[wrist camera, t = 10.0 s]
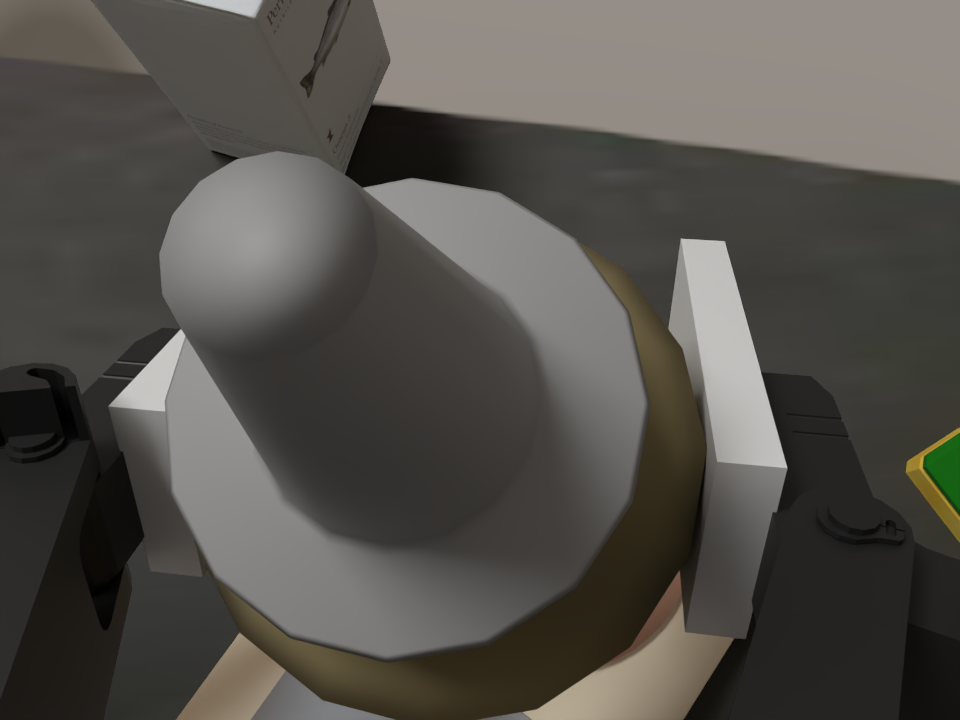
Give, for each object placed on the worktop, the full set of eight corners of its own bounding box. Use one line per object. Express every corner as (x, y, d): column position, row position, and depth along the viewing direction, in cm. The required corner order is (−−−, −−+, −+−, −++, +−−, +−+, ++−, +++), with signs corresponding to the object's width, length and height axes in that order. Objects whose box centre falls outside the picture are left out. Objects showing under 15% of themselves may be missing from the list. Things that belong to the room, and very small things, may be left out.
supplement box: (343, 191, 40) (253, 25, 28) (205, 151, 41) (60, -26, 29) (397, 60, 42) (333, -152, 30) (262, 24, 43) (147, -194, 31)
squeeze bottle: (358, 364, 23) (-251, -292, 6) (658, 365, 22) (993, -392, 5) (337, 677, 21) (-704, 1115, 4) (667, 691, 20) (1284, 1321, 3)
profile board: (142, 780, 34) (120, 791, 33) (482, 314, 38) (479, 302, 36) (458, 1062, 31) (453, 1091, 29) (797, 521, 35) (810, 519, 33)
